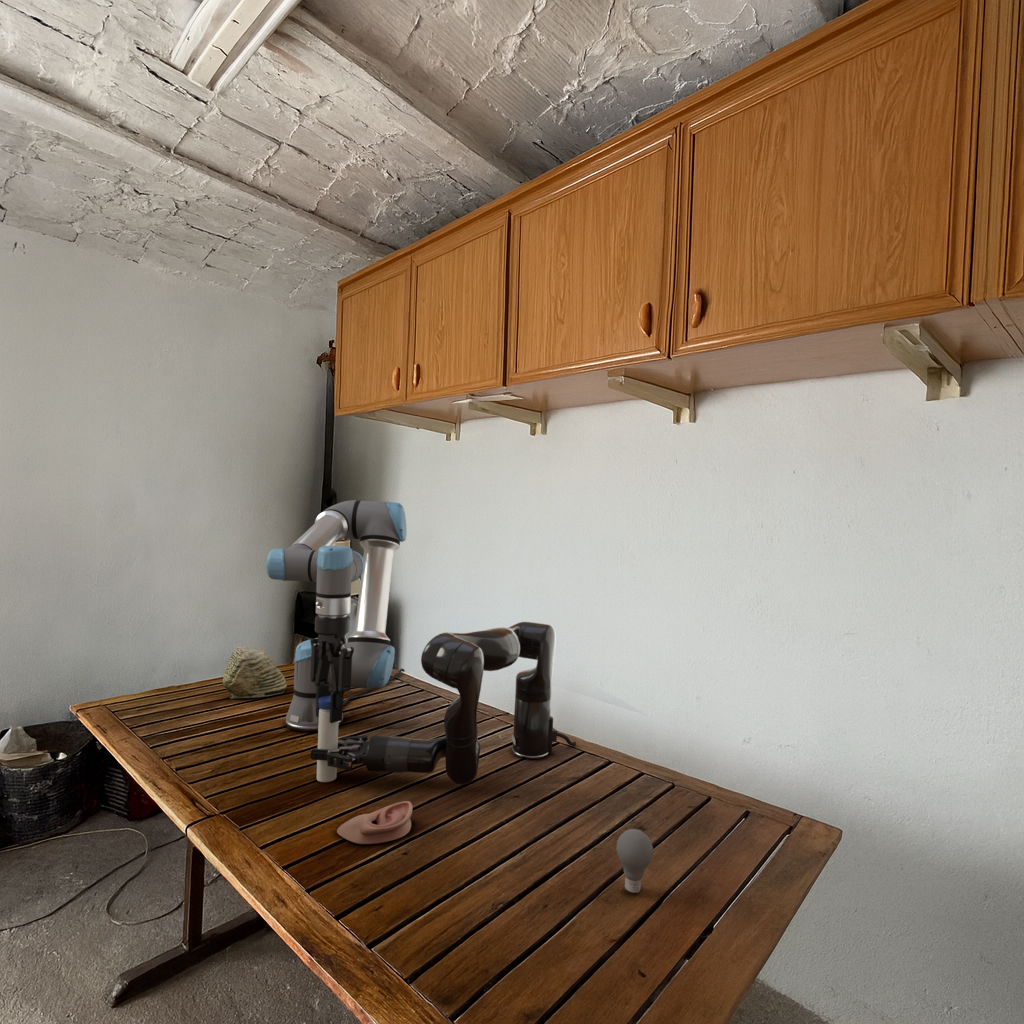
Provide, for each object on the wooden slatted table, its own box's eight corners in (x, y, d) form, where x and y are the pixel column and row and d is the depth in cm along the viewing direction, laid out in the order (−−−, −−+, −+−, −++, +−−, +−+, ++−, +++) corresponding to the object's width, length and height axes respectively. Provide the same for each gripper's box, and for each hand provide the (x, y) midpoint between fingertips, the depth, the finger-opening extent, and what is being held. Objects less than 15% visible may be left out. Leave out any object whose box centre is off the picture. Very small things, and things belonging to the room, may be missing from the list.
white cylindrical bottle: (340, 776, 144) (343, 701, 144) (328, 783, 140) (331, 707, 140) (324, 772, 146) (327, 698, 145) (312, 779, 141) (315, 703, 141)
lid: (315, 704, 143) (315, 696, 143) (337, 701, 146) (337, 694, 146) (321, 711, 139) (321, 703, 139) (343, 708, 142) (343, 700, 142)
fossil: (218, 695, 195) (220, 647, 195) (278, 685, 208) (279, 640, 207) (228, 703, 189) (230, 653, 188) (289, 692, 201) (290, 645, 201)
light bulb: (610, 879, 108) (613, 822, 108) (644, 879, 109) (647, 822, 109) (619, 902, 102) (622, 840, 102) (655, 901, 103) (658, 840, 103)
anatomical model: (329, 818, 117) (357, 790, 128) (328, 839, 117) (356, 810, 128) (397, 828, 114) (419, 799, 126) (396, 850, 114) (418, 819, 126)
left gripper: (296, 611, 145) (292, 712, 145) (341, 623, 133) (337, 733, 134) (324, 607, 151) (321, 704, 151) (370, 619, 139) (366, 724, 140)
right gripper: (398, 726, 149) (326, 722, 150) (383, 750, 135) (304, 745, 135) (396, 757, 149) (325, 753, 150) (382, 784, 135) (302, 780, 136)
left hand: (328, 717), depth 142 cm, fingers closed on lid, 5 cm apart
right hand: (315, 749), depth 143 cm, fingers closed on white cylindrical bottle, 4 cm apart
